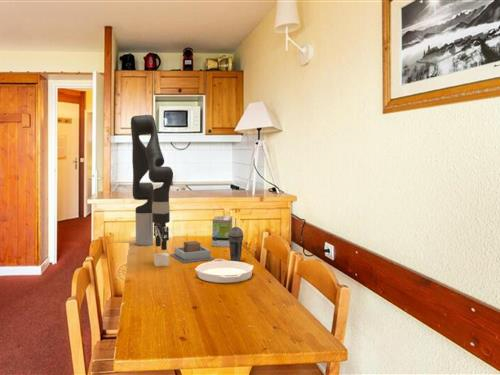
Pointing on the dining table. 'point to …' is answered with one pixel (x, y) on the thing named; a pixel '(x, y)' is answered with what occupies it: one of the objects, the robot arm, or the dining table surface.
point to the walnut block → (191, 246)
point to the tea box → (221, 231)
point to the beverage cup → (235, 243)
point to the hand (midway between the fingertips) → (161, 248)
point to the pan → (224, 271)
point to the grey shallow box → (192, 255)
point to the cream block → (161, 259)
